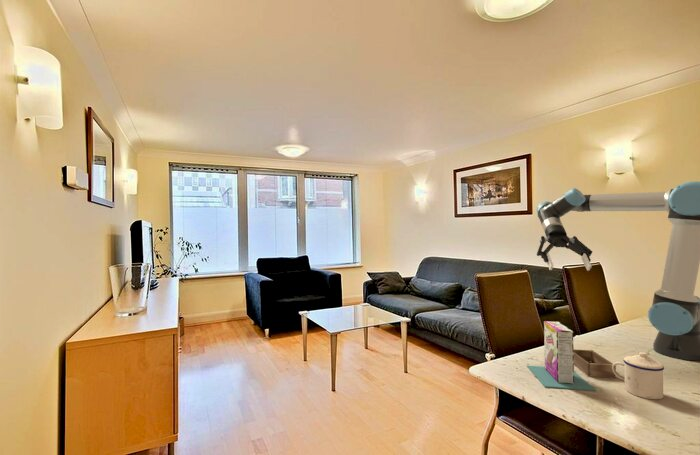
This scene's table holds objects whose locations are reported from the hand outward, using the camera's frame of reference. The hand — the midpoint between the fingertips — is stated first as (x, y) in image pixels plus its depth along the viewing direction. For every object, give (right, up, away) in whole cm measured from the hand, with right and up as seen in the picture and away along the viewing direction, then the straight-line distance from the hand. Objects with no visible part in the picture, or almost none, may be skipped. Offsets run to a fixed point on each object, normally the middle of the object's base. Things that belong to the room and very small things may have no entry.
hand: (570, 268), depth 135 cm
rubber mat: (-19, -33, -24) cm, 45 cm away
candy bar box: (-19, -32, -24) cm, 45 cm away
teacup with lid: (-2, -33, -33) cm, 47 cm away
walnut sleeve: (-4, -33, -16) cm, 37 cm away
